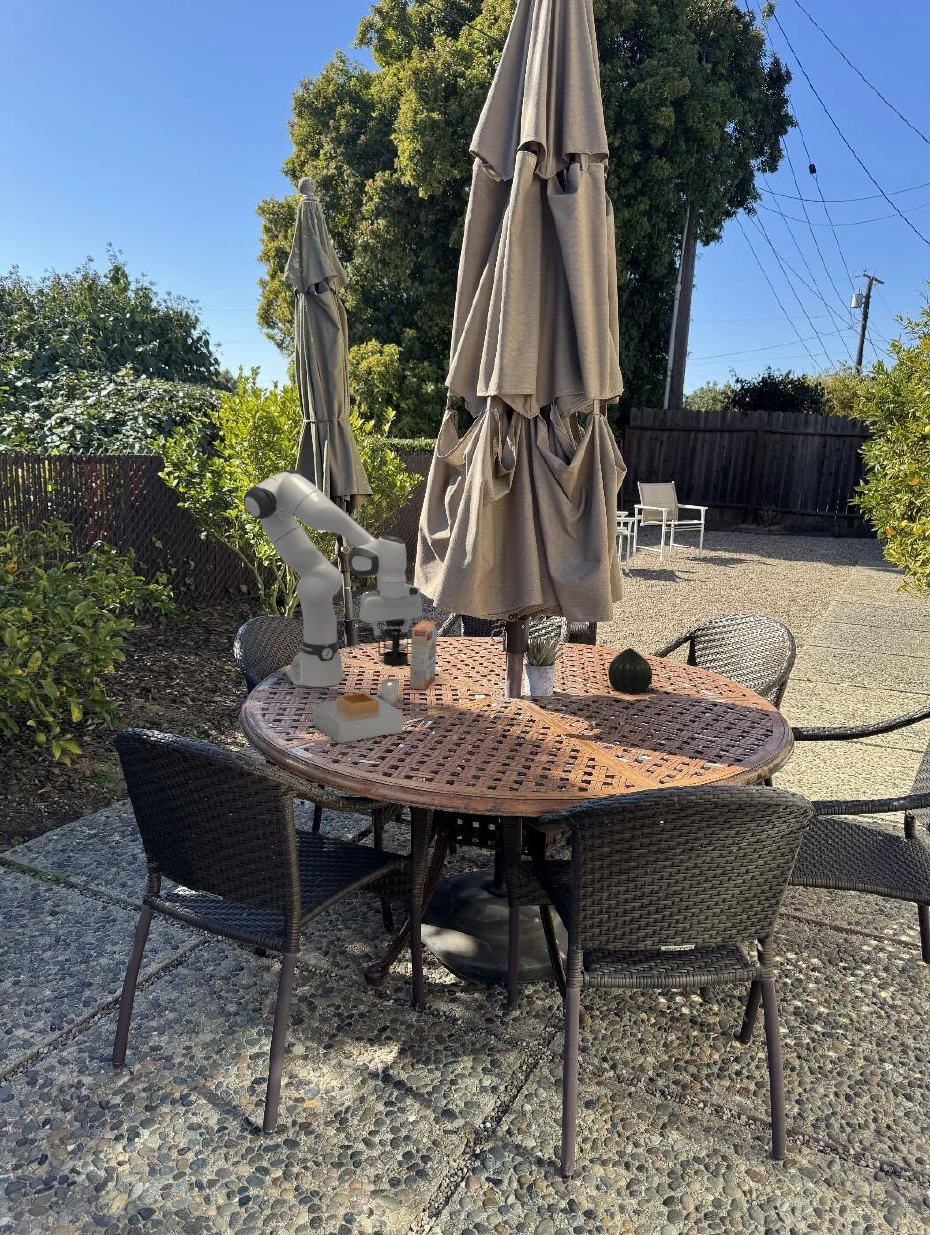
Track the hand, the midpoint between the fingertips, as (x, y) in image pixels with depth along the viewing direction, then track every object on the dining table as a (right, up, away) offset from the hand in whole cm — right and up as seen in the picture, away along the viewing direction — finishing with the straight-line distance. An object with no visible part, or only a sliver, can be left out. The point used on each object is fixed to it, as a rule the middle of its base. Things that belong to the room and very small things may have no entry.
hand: (390, 633), depth 267 cm
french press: (-3, -12, +54) cm, 55 cm away
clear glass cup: (-1, -23, +5) cm, 23 cm away
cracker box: (+9, -18, +29) cm, 35 cm away
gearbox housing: (-8, -27, -16) cm, 33 cm away
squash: (+79, -20, +32) cm, 88 cm away
